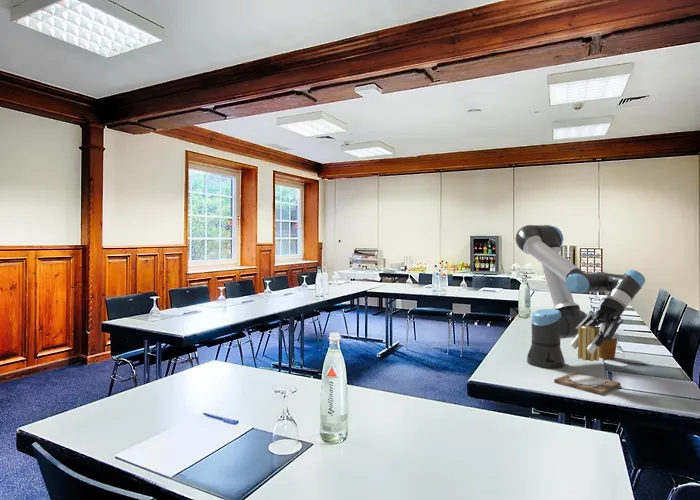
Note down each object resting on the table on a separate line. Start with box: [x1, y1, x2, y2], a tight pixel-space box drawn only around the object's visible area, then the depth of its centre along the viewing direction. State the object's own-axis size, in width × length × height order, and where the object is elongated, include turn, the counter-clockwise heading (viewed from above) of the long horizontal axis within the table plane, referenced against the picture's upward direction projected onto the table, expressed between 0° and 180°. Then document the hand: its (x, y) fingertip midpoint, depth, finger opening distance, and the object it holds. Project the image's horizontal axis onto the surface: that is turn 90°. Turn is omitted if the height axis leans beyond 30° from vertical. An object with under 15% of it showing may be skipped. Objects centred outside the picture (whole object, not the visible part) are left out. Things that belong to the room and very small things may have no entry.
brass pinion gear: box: [577, 325, 600, 362], centre depth 166 cm, size 7×7×12 cm
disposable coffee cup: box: [599, 329, 620, 360], centre depth 204 cm, size 10×10×12 cm
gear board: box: [553, 371, 622, 396], centre depth 167 cm, size 17×16×2 cm
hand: (581, 348), depth 165 cm, fingers closed on brass pinion gear, 7 cm apart
